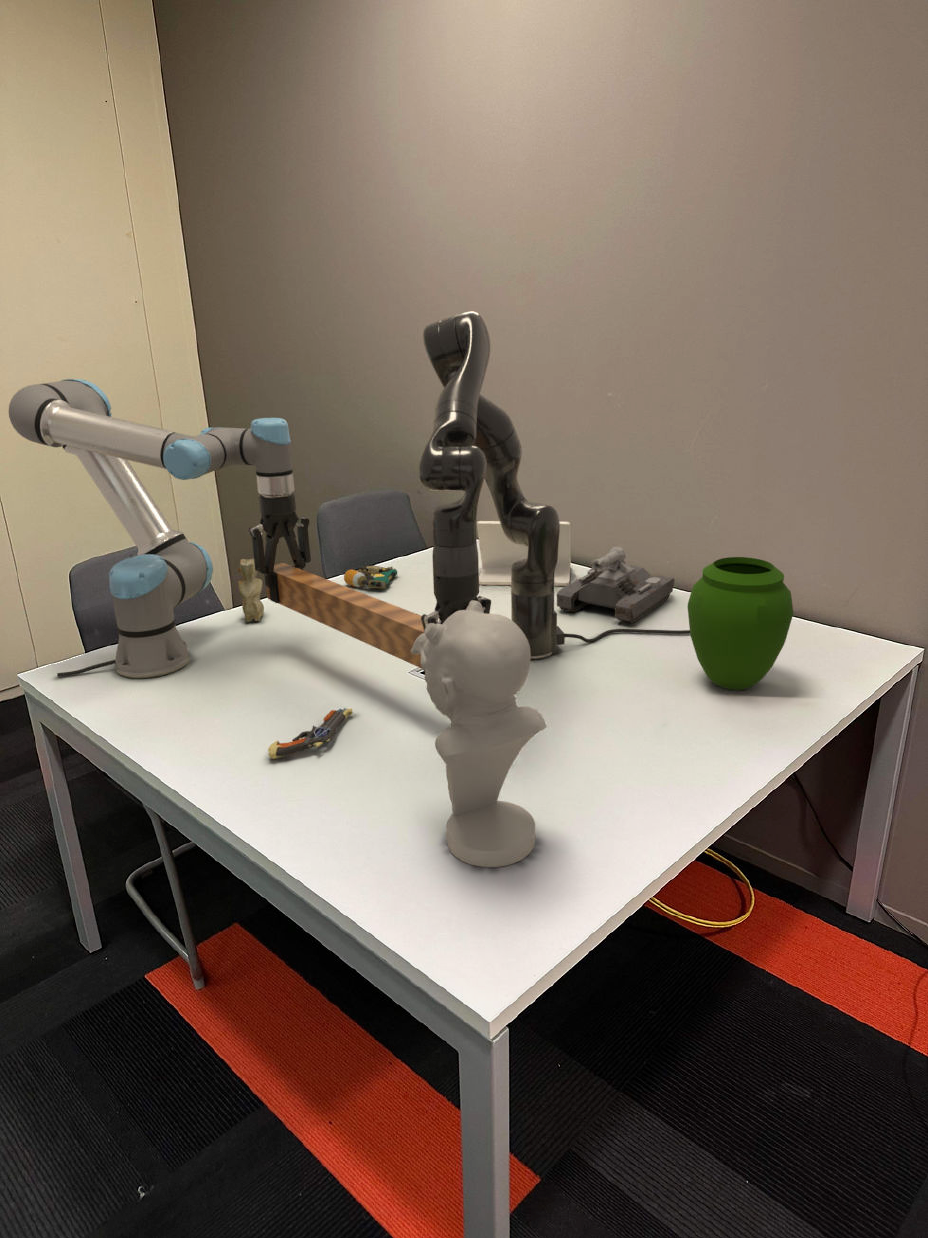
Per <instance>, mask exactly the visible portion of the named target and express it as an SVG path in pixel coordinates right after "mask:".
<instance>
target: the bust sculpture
mask: <svg viewBox="0 0 928 1238" xmlns="http://www.w3.org/2000/svg"><path fill="white" fill-rule="evenodd" d="M411 653H412V654H421V667H422V670H423V672H424V681H425V682H426V690H427V693H428V696H429V698H430V701H431V702H432V704H434V706H435V708H436V710H438V711H439V712H440V713H441V714H442V716H446V717H447V718H448V719H449V720H450V726H448V727H446V728H445V729H443V730H442V731H441V732H440V733H439V734H438V735H436V738H435V741H434V748H435V749H436V752H437V753H438V755H439V757H440V758H441V760H442V761H443V762H444V763H445V771H446V781H447V790H448V796H449V800H450V803H451V810H452V813H451V814H450V815H449V817H448V819H447V822H446V844H447V847H448V849H449V851H450V852H451V854H452V855H453V856H454V857H456V858H457V859H459V860H460V861H462V862H463V863H466V864H469V865H471V866H476V867H483V868H498V867H505V866H509V865H512V864H517V862H520V861H521V860H523V859H525V858H527V856H528V855H530V854H531V852H532V851H533V849H535V848H534V847H535V845H536V822H535V821H536V820H535V819H534V817H533V816H532V814H531V813H530V812H529V811H528V810H526V809H525V808H524V807H522V806H520V805H517V804H515V803H513V802H509V801H504V800H499V796H500V793H501V790H502V788H503V785H504V783H505V780H506V778H507V776H508V773H509V771H510V769H511V768H512V765H513V763H514V761H515V760H516V759H517V756H518V755H519V753H520V752H521V750H522V749H523V748H524V747H525V745H526V744H527V743H528V742H529V741H530V740H531V739H532V738H533V737H535V735H537V734H538V733H539V732H541V731H544V730H545V729H546V728H547V725H546V723H545V720H544V718H543V717H542V714H541V713H540V712H539V711H538V710H537V709H535V708H533V707H530V706H518V705H517V701H516V699H517V698H516V696H515V695H516V694H517V693H519V691H521V689H522V688H523V686H524V684H525V683H526V680H527V678H528V675H529V669H530V666H531V659H530V656H531V655H530V653H531V652H530V646H529V643H528V640H527V638H526V636H525V634H524V633H523V632H522V630H521V629H520V628H519V627H518V626H517V625H516V624H515V623H514V622H513V621H512V620H511V618H508V617H507V616H504V615H503V614H502V615H501V614H496V613H490V614H485V613H484V609H483V608H482V605H481V603H480V602H478V601H474V600H472V601H470V603H469V605H468V607H467V609H466V610H459V611H457V612H455V613H453V614H452V615H451V616H450V617H448V618H447V619H446V620H445V622H444V623H443V624H434V623H430V624H428V625H427V626H426V628H425V633H423V634H421V635H419V636H418V637H417V639H416V640H415V642H414V645H413V647H412V649H411Z"/></svg>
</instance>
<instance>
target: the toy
mask: <svg viewBox="0 0 928 1238" xmlns="http://www.w3.org/2000/svg"><path fill="white" fill-rule="evenodd" d="M626 557H627V556H626V551H625V549H624V548H622V547H621V546H614V547H612V548H611V549H610V550H609V552H608V553H607V554H605V555H604V556H601V557H599V558H598V559H597V557H596V558H594V559H593V560H592V561H590V562H589V563H590V564H591V565H592V567H591V568H590V569H589V570H587V573H586V575H584V576H582V577H580V578H578V579H577V580H575V581H573V582H570V583H569V585H567V586H563V587H562V588H560V589H559V590H558V591H557V592H556V607H558V608H559V609H560V610H562V611H566V612H572V613H575V612H577V611H579V610H581V609H582V608H585V607H586V606H588V605H592V606H598V607H602V608H603V607H604V608H609V609H613V610H614V618H615V619H617V620H618V621H621V622H626V623H631V624H634V623H635V622H637V621H638V620H640V619H641V618H642V617H644V616H645V615H647V614H648V613H650V612H651V611H652V610H654V609H655V608H657V607H659V606H660V605H661V604H663V603H664V602H666V601H667V600H669V598H670V596H671V594H672V593H673V591H674V585H675V580H676V579H675V578H673V577H668V576H663V575H656V576H655V577H654V576H651V574H650V573H649V572H648V571H647V570H646V568H644V567H641V566H635V565H629V564H628V563H627V562H626V561H625V559H626Z"/></svg>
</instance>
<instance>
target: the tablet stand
mask: <svg viewBox="0 0 928 1238" xmlns="http://www.w3.org/2000/svg"><path fill="white" fill-rule="evenodd" d="M559 522H560V533H559V547H558V561H557V565H556V568H555V572H554V587H556V586H557V587H566V586H567V585H569V584H570V580H571V579H570V578H571V565H572V564H571V560H572V558H571V522H569V521H559ZM476 532H477V537H478V544H479V551H480V557H481V558H480V559H481V570H480V571H479V585H484V586H485V585H486V586H487V585H489V586H490V585H491V586H511V567H512V564H513V563H515V562H516V561H519V560H522V559H527V556H528V546H524V545H519V544H516V543H513V542H511V541H510V540H509V539H508V538H507V537H506V536H505V534H504V532H503V529H502V527H501V524H500V521H499V520H477V521H476Z"/></svg>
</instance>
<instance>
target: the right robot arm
mask: <svg viewBox="0 0 928 1238" xmlns="http://www.w3.org/2000/svg"><path fill="white" fill-rule="evenodd" d="M422 340H423V341H422V342H423V345H424V349H425V352H426V355H427V358H428V360H429V362H430V364H431V366H432V369H433V370H434V372H435V375H436V376H437V378H438V380H439V382H440V383H441V385H442V387H443V389H442V391H441V392H440V394H439V396H438V399H437V400H436V404H435V409H434V420H433V429H432V433H431V435H430V437H429V439H428V440H427V442H426V444H425V447H424V448H423V451H422V453H421V455H420V459H419V463H418V476H419V480H420V482H421V484H422V485H423V486H424V487H425V488H426V489H428V490H429V491H432V492H461V491H462V492H464V493H463V496H462V497H461V498H460V499H458V500H456V501H452V502H448V503H444V504H441V505H438V506H437V507H435V508H434V509H433V512H432V537H433V540H432V541H433V542H432V543H433V547H432V578H433V579H432V582H433V595H434V597H435V600H436V604H435V607H434V611H432V612H431V613H429V614H427V613H424V614H421V621H422V625H423V628H424V632H425V628H426V626H427V625H428V624H430V623H434V624H443V623H444V622H445V620H446V619H447V618H448V617H450V616H451V615H452V614H453V613H455V612H457V611H459V610H466V609H467V607H468V605H469V603H470V601H472V600H474V601H478V602H480V603H481V605H482V608H483V609H484V613H485V614H491V607H492V599H490V598H487V597H484V596H481V595H479V594H480V584H479V575H480V569H479V568H480V567H479V564H480V563H479V562H480V561H479V550H478V544H477V543H478V542H477V515H478V514H477V513H478V506H479V501H480V495H481V492H482V488H483V484H484V481H485V482H486V485H487V488H488V490H489V493H490V495H491V498H492V500H493V504H494V508H495V511H496V514H497V517H498V521H500V524H501V527H502V529H503V532H504V534H505V536H506V537H507V538H508V539H509V540H510V541H511V542H513V543H516V544H519V545H524V546H528V556H527V559H522V560H519V561H516V562H515V563H513V564H512V567H511V585H510V588H511V589H510V597H511V599H510V603H511V604H510V606H511V607H510V609H511V610H510V615H511V617H510V619H511V620H512V621H513V622H514V623H515V624H516V625H517V626H518V627H519V628H520V629H521V630H522V632H523V633H524V634H525V636H526V638H527V640H528V643H529V646H530V652H531V653H530V655H531V656H530V660H540V659H545V658H548V657H550V656H552V655H557V654H558V653H557V650H558V649H557V648H558V647H557V646H561V645H562V646H563V645H566V644H565V640H566V639H565V638H571V639H577V640H578V639H579V640H581V641H583V642H584V643H586V644H587V643H588V644H590V643H595V642H597V641H599V640H601V639H603V638H604V637H605V636H607V635H610V634H615V633H639V634H665V635H667V634H668V635H687V634H688V635H690V629H686V630H683V629H681V630H680V629H679V630H677V629H676V630H671V629H668V630H667V629H643V628H642V629H641V628H613V629H608V630H606V631H603V632H602V633H599V634H598V635H597V636H595V637H593V638H587V637H584V636H582V635H580V634H577V633H576V634H575V633H565V632H564V631H563V630H562V629H561V627H560V626H559V625H558V613H557V612H556V611H555V586H554V572H555V568H556V565H557V561H558V547H559V533H560V522H561V521H560V517H559V514H558V511H557V510H556V508H555V507H553V506H552V505H548V504H544V503H539V502H533V501H529V500H528V499H526V497H525V495H524V494H523V492H522V488H521V487H520V484H519V480H518V473H519V469H520V466H521V461H522V451H523V450H522V444H521V441H520V438H519V436H518V433H517V431H516V427H515V426H514V423H513V421H512V419H511V417H510V416H509V415H508V413H507V412H505V410H503V408H501V407H500V406H498V405H497V404H496V403H494V402H493V401H492V400H490V399H488V398H487V397H486V396H483V395H482V394H481V391H482V388H483V385H484V382H485V378H486V374H487V370H488V366H489V362H490V357H491V338H490V334H489V330H488V327H487V325H486V323H485V321H484V319H483V317H482V315H480V314H479V313H478V312H476V311H466V312H461V313H459V314H456V315H453V316H450V317H447V318H444V319H440V320H437V321H435V322H432V323H430V324H427V326H425V327H424V329H423V333H422ZM438 622H439V623H438Z"/></svg>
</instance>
